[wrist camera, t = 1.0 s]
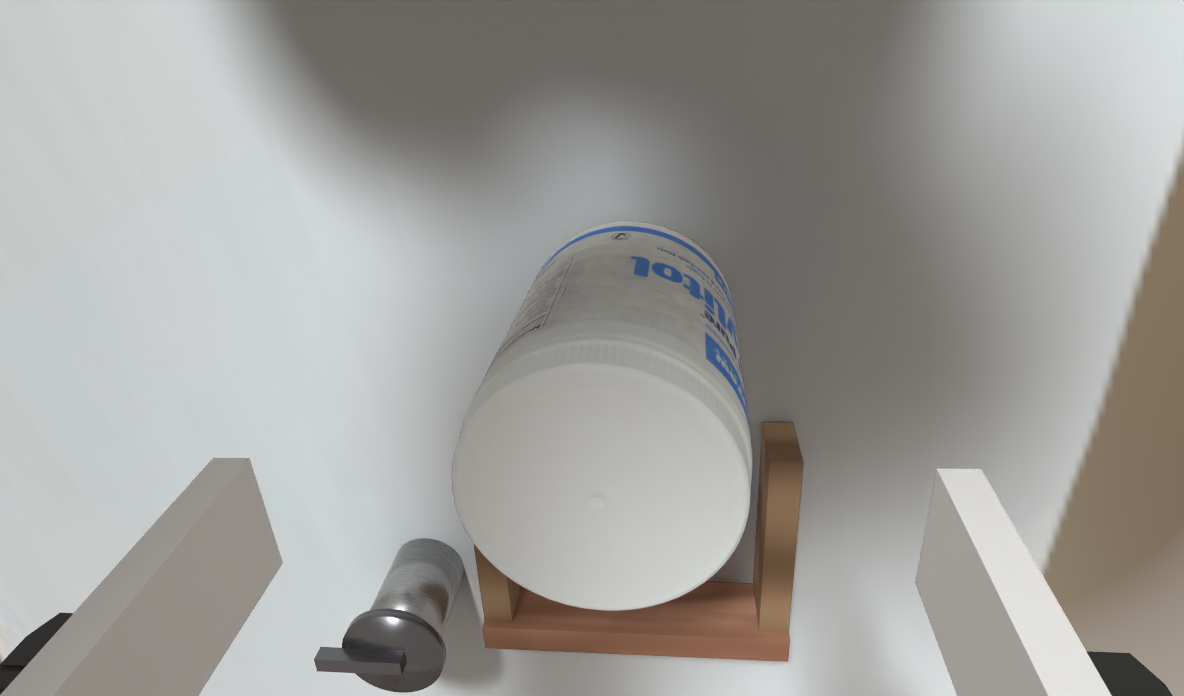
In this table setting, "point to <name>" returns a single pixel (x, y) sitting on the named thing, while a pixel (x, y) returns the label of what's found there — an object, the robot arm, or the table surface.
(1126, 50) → the table surface
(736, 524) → the supplement tub
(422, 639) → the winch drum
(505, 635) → the bay
